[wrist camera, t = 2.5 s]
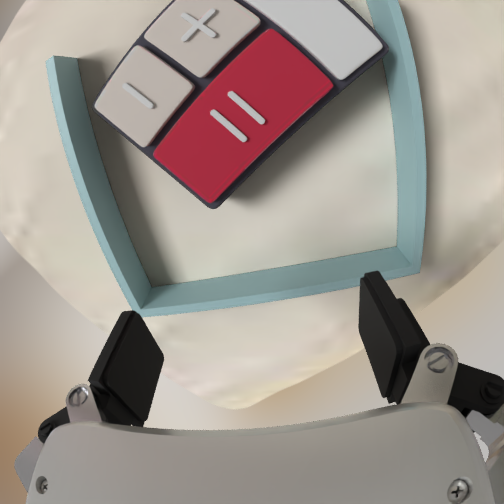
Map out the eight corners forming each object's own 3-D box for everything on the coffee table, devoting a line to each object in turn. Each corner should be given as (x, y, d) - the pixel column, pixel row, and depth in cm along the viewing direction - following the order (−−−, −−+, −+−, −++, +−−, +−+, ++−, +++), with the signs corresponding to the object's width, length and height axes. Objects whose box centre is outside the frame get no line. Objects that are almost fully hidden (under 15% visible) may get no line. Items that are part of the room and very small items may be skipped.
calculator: (81, 109, 13) (250, -69, 7) (115, 104, 17) (254, -41, 10) (210, 218, 16) (398, 48, 10) (222, 193, 20) (373, 56, 14)
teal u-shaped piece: (372, -11, 11) (388, -25, 8) (404, 253, 21) (419, 272, 18) (69, 62, 14) (45, 61, 11) (147, 295, 24) (136, 317, 21)
